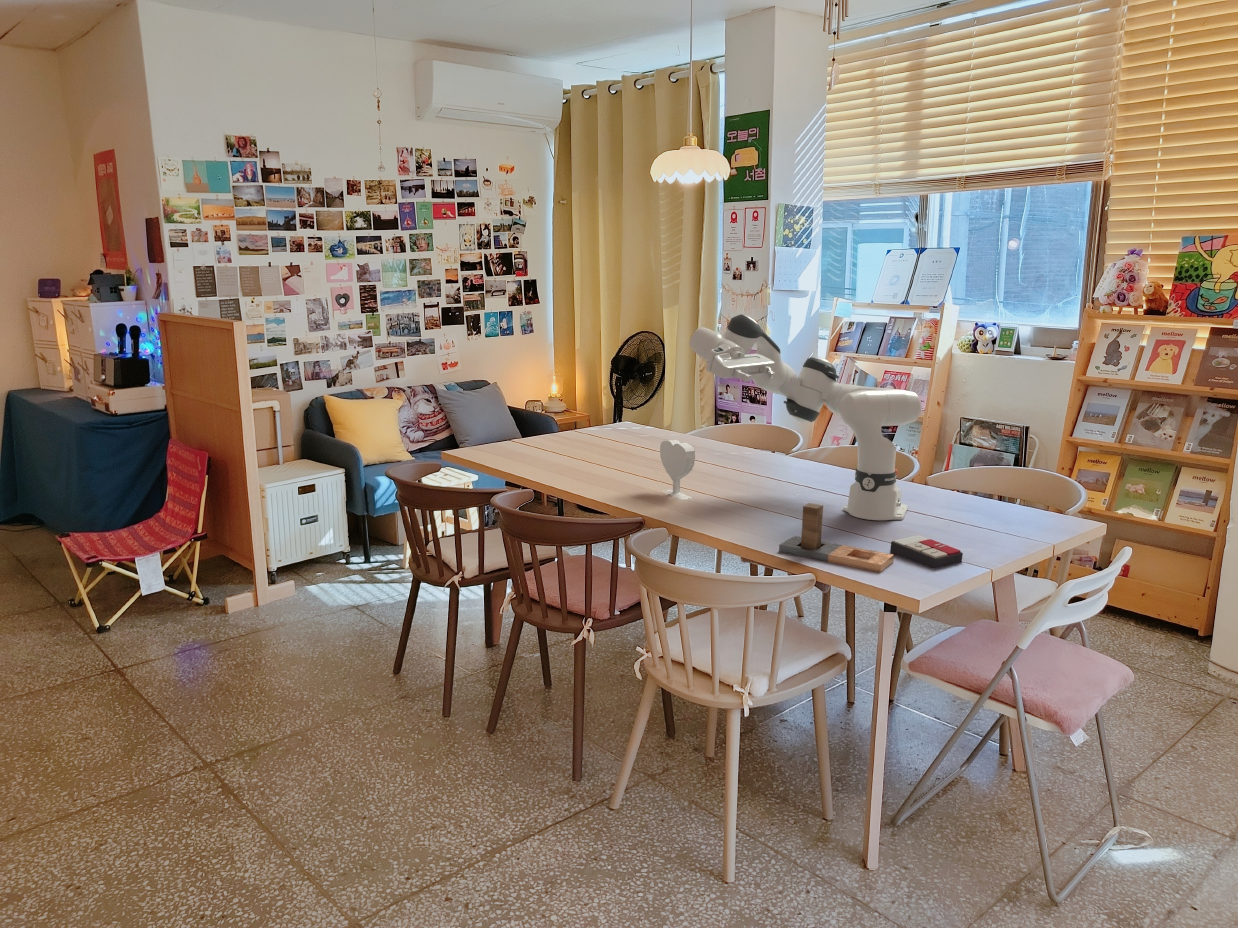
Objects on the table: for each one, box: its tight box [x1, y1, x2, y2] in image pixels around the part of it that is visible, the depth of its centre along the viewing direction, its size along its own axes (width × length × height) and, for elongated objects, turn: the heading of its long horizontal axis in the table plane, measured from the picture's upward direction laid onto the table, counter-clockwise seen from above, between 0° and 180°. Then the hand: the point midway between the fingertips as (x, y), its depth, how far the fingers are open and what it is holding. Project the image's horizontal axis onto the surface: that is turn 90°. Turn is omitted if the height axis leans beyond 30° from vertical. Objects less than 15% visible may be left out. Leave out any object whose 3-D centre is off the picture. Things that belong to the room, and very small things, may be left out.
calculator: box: [889, 535, 964, 570], centre depth 241 cm, size 11×4×15 cm
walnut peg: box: [800, 502, 824, 550], centre depth 244 cm, size 4×4×13 cm
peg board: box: [778, 535, 895, 573], centre depth 241 cm, size 10×28×2 cm, turn 55°
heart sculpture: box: [659, 439, 696, 500], centre depth 302 cm, size 16×5×18 cm, turn 31°
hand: (761, 377), depth 257 cm, fingers open, 8 cm apart
